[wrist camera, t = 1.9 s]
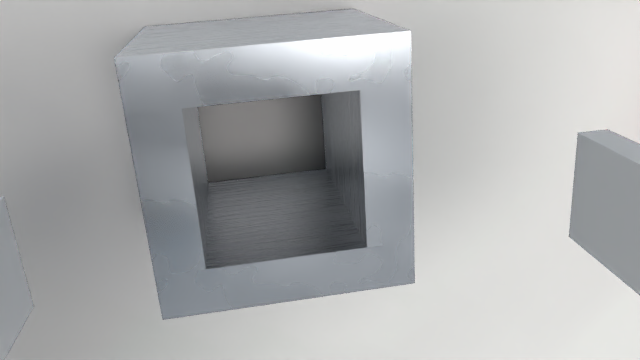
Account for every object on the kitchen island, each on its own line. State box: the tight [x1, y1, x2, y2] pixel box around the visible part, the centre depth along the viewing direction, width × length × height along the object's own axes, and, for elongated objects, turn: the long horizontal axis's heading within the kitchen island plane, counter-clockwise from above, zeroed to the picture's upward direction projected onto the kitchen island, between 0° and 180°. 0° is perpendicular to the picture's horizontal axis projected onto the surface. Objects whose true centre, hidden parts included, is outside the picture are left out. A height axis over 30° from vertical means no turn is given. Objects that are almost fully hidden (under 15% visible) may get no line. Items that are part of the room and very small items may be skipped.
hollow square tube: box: [114, 9, 415, 320], centre depth 20 cm, size 7×7×7 cm
